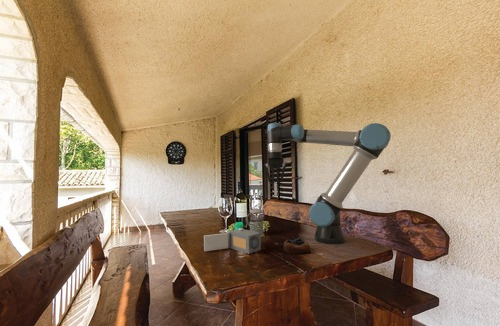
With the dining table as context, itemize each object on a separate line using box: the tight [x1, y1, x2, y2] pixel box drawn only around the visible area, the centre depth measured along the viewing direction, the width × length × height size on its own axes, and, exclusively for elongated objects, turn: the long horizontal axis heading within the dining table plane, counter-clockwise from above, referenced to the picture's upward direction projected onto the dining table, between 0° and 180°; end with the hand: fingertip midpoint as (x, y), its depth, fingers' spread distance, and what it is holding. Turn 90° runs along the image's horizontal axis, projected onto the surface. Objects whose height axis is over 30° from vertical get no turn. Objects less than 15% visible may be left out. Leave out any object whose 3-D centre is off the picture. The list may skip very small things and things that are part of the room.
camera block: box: [228, 227, 262, 255], centre depth 117 cm, size 16×8×9 cm, turn 45°
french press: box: [245, 192, 266, 238], centre depth 144 cm, size 10×12×25 cm
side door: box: [203, 232, 231, 252], centre depth 116 cm, size 13×2×7 cm, turn 113°
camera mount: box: [234, 221, 244, 230], centre depth 132 cm, size 12×8×10 cm, turn 16°
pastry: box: [282, 238, 311, 255], centre depth 113 cm, size 11×12×6 cm
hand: (275, 195), depth 131 cm, fingers closed
